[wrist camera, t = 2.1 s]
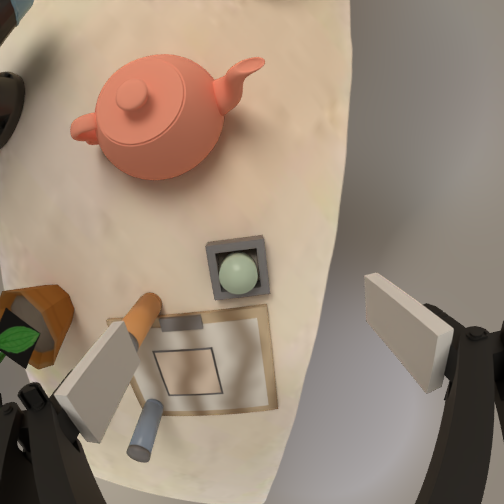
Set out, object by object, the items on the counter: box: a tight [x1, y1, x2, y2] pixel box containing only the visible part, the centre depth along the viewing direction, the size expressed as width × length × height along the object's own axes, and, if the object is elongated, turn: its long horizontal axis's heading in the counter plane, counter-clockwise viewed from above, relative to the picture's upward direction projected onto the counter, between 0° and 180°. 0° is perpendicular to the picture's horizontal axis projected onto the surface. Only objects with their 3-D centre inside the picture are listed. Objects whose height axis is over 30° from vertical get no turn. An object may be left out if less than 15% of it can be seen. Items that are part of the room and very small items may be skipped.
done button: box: [219, 251, 258, 294], centre depth 33 cm, size 4×4×3 cm
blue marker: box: [127, 399, 164, 462], centre depth 35 cm, size 4×4×12 cm
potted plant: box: [0, 285, 74, 409], centre depth 22 cm, size 18×19×30 cm
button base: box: [205, 235, 270, 300], centre depth 35 cm, size 7×7×2 cm
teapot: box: [70, 54, 265, 180], centre depth 26 cm, size 22×16×12 cm
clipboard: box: [106, 304, 278, 416], centre depth 39 cm, size 24×20×1 cm
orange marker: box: [122, 293, 162, 352], centre depth 31 cm, size 4×4×12 cm
